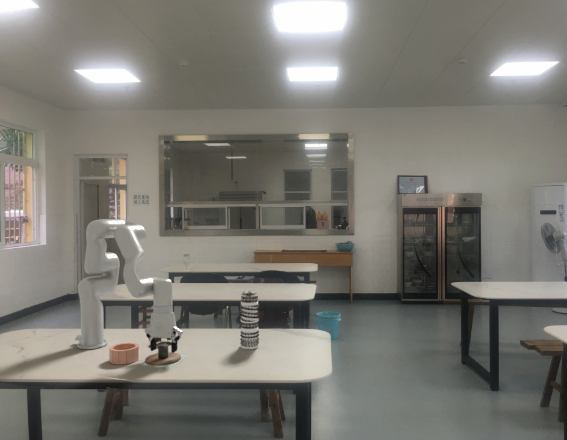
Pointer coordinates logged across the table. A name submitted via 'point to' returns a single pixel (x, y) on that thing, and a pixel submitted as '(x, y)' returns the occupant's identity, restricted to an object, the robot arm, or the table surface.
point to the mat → (163, 365)
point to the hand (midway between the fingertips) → (163, 350)
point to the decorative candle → (249, 320)
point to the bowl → (124, 353)
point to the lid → (163, 356)
